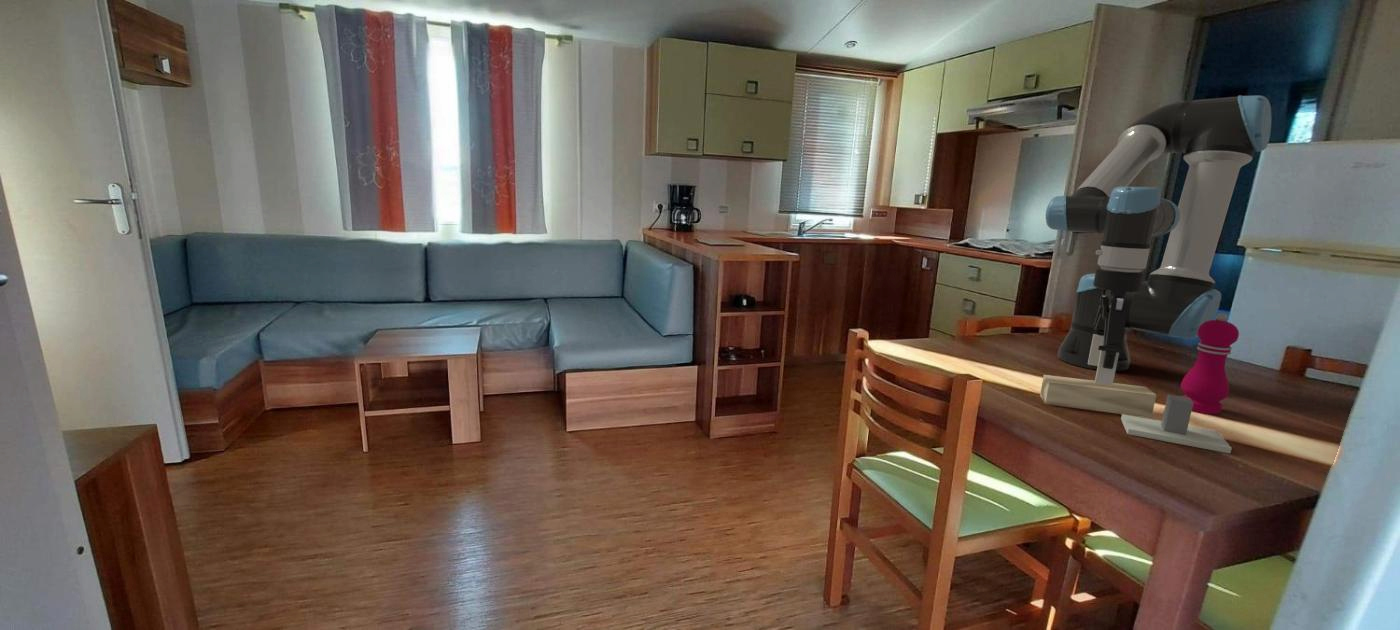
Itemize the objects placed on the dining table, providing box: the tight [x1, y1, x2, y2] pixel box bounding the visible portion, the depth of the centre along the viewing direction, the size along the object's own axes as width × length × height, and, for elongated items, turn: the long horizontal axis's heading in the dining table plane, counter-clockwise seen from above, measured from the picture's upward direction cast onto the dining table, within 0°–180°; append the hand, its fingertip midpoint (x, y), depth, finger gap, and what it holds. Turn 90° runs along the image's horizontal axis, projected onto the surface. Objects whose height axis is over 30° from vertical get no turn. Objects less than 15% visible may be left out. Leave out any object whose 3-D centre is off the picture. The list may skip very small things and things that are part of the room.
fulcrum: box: [1120, 394, 1233, 454], centre depth 100 cm, size 8×14×7 cm, turn 60°
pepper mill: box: [1180, 312, 1240, 415], centre depth 111 cm, size 7×7×20 cm
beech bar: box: [1039, 374, 1157, 419], centre depth 113 cm, size 5×18×5 cm, turn 70°
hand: (1099, 374), depth 112 cm, fingers open, 13 cm apart
